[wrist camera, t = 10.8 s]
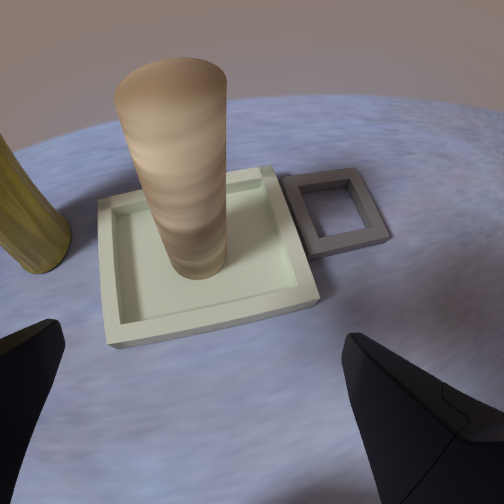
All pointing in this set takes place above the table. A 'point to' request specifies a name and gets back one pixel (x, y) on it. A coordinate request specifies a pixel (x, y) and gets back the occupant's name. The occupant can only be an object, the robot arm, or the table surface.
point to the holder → (340, 242)
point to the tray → (207, 290)
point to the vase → (29, 219)
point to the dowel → (180, 156)
